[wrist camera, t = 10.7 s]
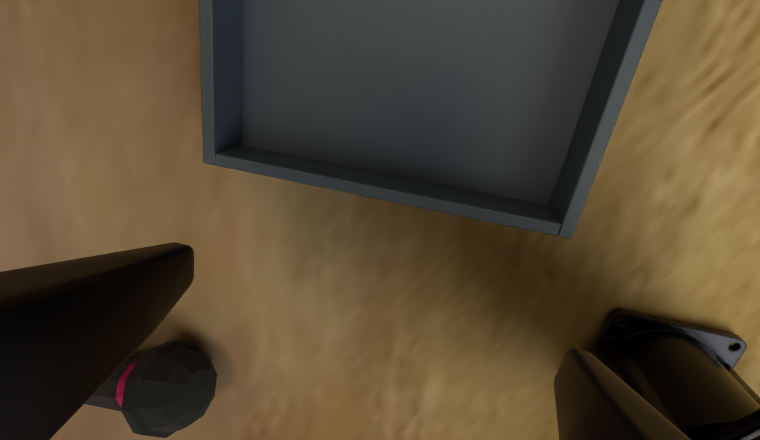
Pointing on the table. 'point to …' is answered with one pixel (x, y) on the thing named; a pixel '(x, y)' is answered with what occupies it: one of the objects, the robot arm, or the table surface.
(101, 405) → the microphone
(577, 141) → the grey tray
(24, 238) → the table surface
